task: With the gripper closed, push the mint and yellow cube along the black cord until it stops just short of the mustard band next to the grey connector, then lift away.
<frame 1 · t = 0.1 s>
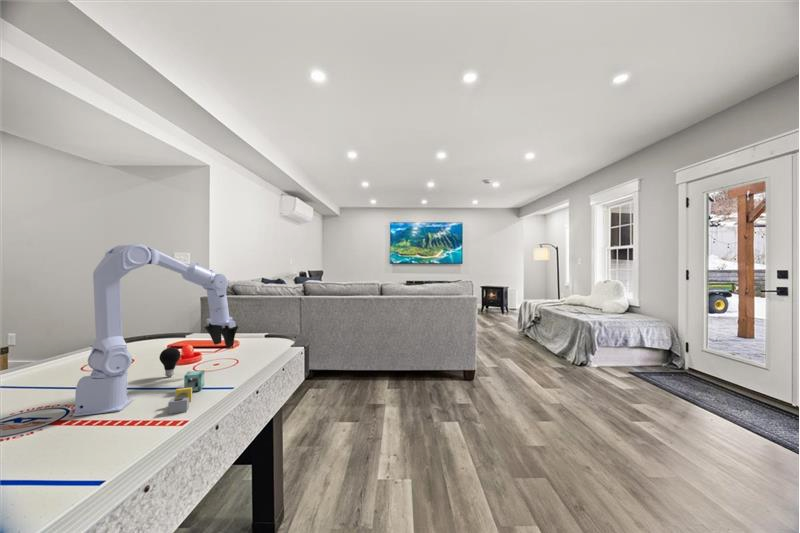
hand: (223, 345, 110), 10 cm above the table, tool pointing down, fingers open, 7 cm apart
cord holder: (188, 398, 89), on the table
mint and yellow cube: (194, 380, 96), point 3 cm above the table, slide at 0.0 cm
light bulb: (169, 377, 108), on the table
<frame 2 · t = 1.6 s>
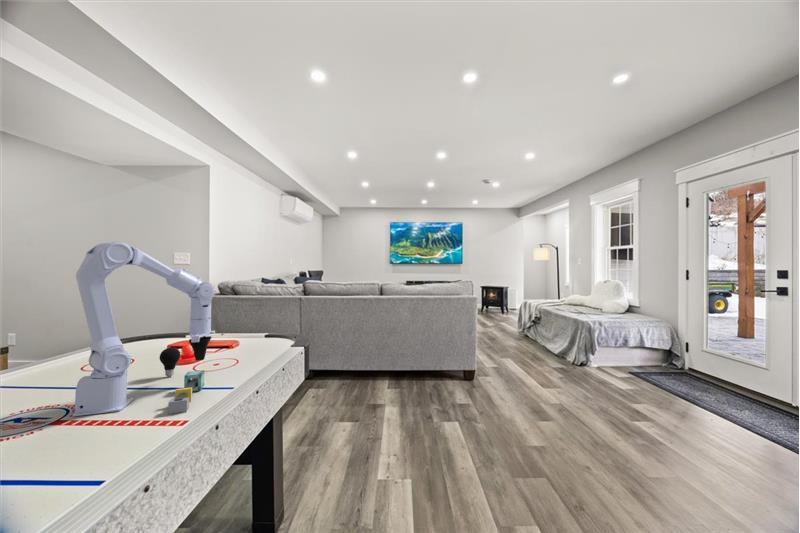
hand: (200, 360, 102), 7 cm above the table, tool pointing down, fingers closed
nothing on the table moved.
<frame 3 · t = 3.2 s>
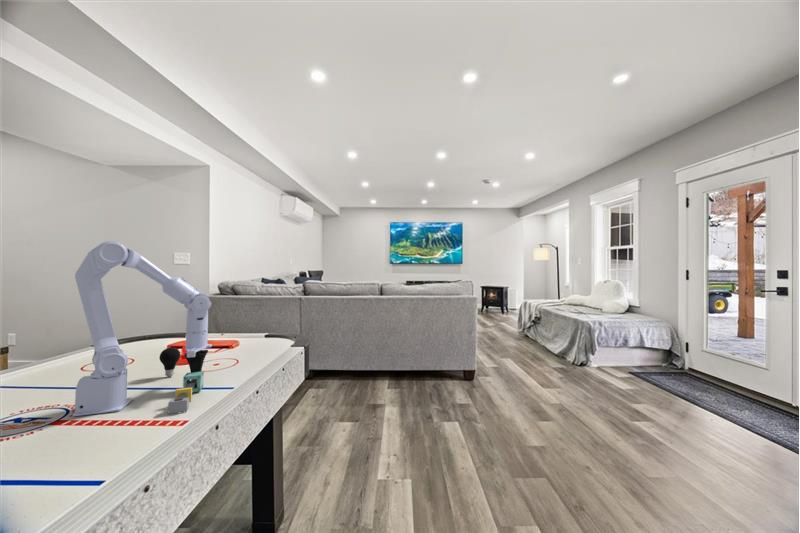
hand: (196, 375, 98), 4 cm above the table, tool pointing down, fingers closed
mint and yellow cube: (193, 381, 95), point 3 cm above the table, slide at 1.1 cm, touching gripper
everything else where it was.
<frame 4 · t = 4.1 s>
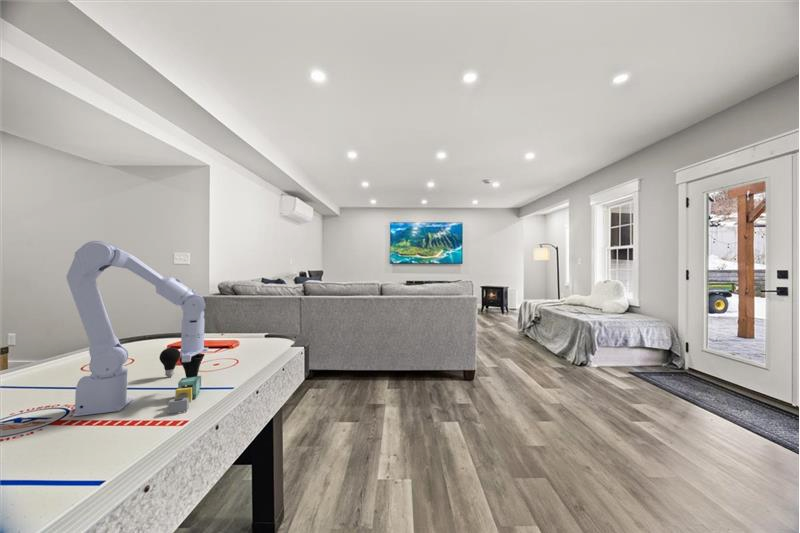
hand: (191, 380, 93), 4 cm above the table, tool pointing down, fingers closed
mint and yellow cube: (189, 387, 90), point 3 cm above the table, slide at 6.2 cm, touching gripper
everything else where it was.
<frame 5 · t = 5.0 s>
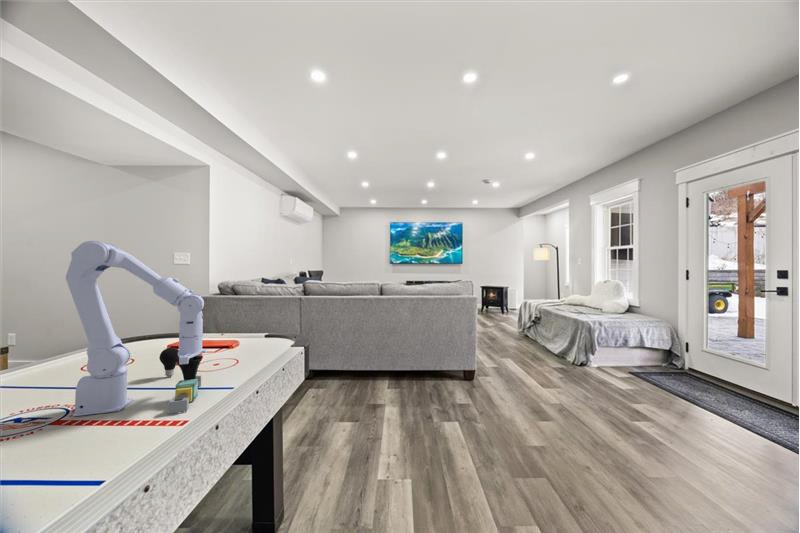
hand: (189, 382, 91), 4 cm above the table, tool pointing down, fingers closed
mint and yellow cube: (186, 390, 88), point 3 cm above the table, slide at 8.5 cm, touching gripper
everything else where it was.
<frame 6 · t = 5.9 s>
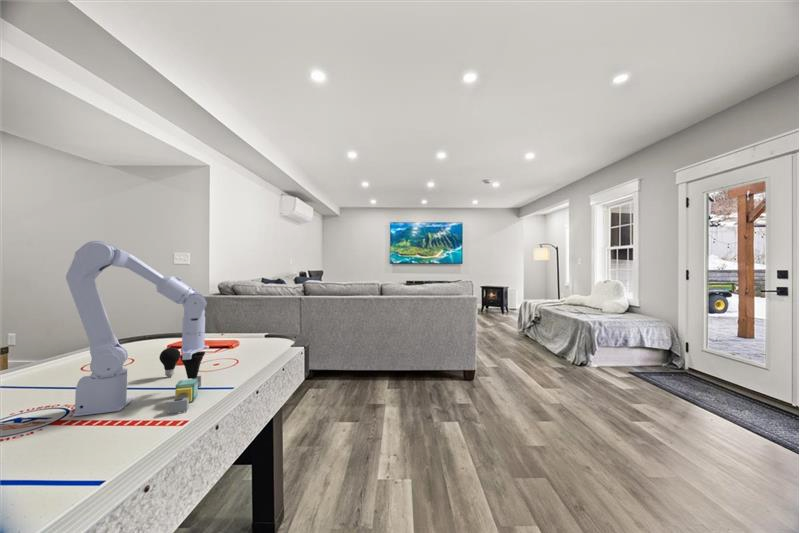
hand: (192, 377, 94), 4 cm above the table, tool pointing down, fingers closed
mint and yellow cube: (186, 390, 88), point 3 cm above the table, slide at 8.5 cm
everything else where it was.
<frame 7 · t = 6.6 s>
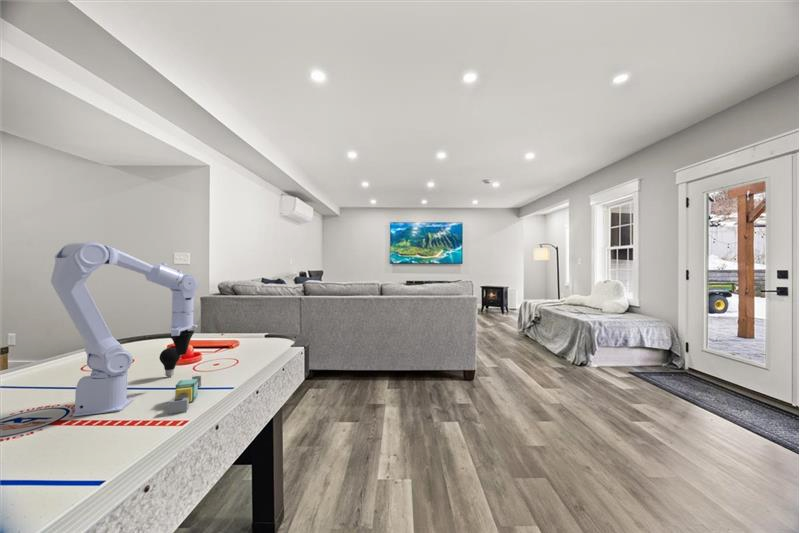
hand: (181, 354, 99), 10 cm above the table, tool pointing down, fingers closed
nothing on the table moved.
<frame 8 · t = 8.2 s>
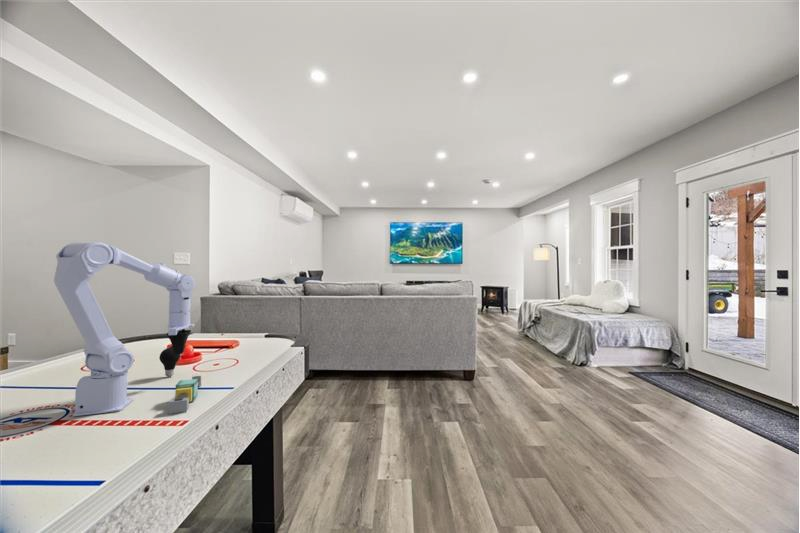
hand: (178, 353, 100), 10 cm above the table, tool pointing down, fingers closed
nothing on the table moved.
at the end: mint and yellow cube slide at 8.5 cm; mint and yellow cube touching nothing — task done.
